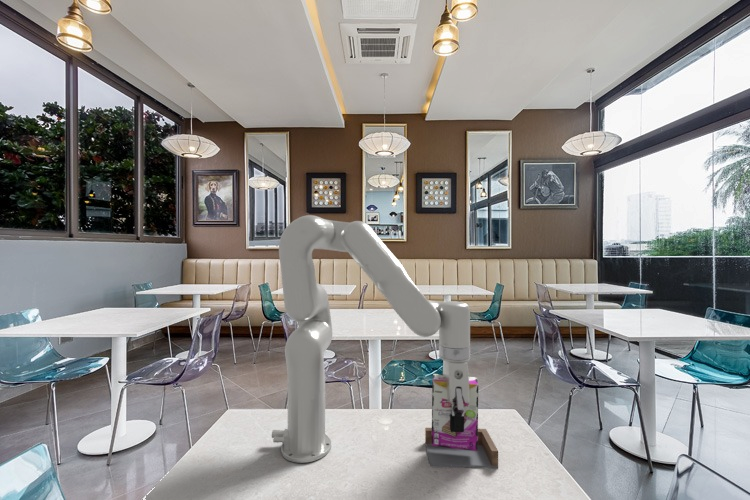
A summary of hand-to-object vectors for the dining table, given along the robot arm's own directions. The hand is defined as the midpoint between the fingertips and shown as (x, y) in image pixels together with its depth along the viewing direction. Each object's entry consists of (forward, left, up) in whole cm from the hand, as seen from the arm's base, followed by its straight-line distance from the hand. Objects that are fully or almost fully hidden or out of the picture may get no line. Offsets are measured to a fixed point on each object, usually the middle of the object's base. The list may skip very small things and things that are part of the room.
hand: (454, 424), depth 85 cm
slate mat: (+1, +1, -8) cm, 8 cm away
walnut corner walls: (+1, +1, -8) cm, 8 cm away
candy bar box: (0, 0, -5) cm, 5 cm away
